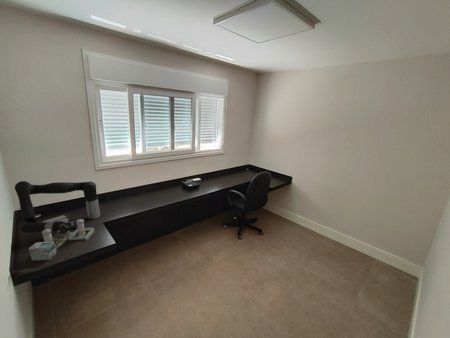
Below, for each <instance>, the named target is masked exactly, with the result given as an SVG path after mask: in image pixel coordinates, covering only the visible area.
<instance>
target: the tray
mask: <svg viewBox="0 0 450 338" xmlns="http://www.w3.org/2000/svg"><path fill="white" fill-rule="evenodd" d="M84 229H85V232H88V233H87V234H85V235H84V236H80V237H79V236H76V234H78V229H75V230H74V231H73V232H74V233H73V234H71V235H70V236H69V237H68V239H67V240H68V241H73V240H74V241H76V240H84V241H85V242H87V241H88V240H89V239H90V238H91V236H92V235H93V234H94V233H95V227H84Z"/></svg>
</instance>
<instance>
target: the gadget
mask: <svg viewBox="0 0 450 338" xmlns="http://www.w3.org/2000/svg"><path fill="white" fill-rule="evenodd" d="M68 220H70V219H69V218H68V217H67V216H66V215H63V214H62V215H60V216H56V217H54V218H50V219H46V220H43V221H42V222H52V221H63V222H68Z"/></svg>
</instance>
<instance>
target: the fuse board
mask: <svg viewBox="0 0 450 338" xmlns="http://www.w3.org/2000/svg"><path fill="white" fill-rule="evenodd" d="M64 231H65V230H64ZM74 232H75V231H73V232H71V230H70V231H67V232H66V233H58V231H57V232H55V233H54V234H53V235H52V239H53V241H54V244H55V248H56V251H57V250H58V248H60V246H62V245H63V244H64V243H65V242H66V240H69V239H68V237H69V236H70V235H71V234H73V233H74Z"/></svg>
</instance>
